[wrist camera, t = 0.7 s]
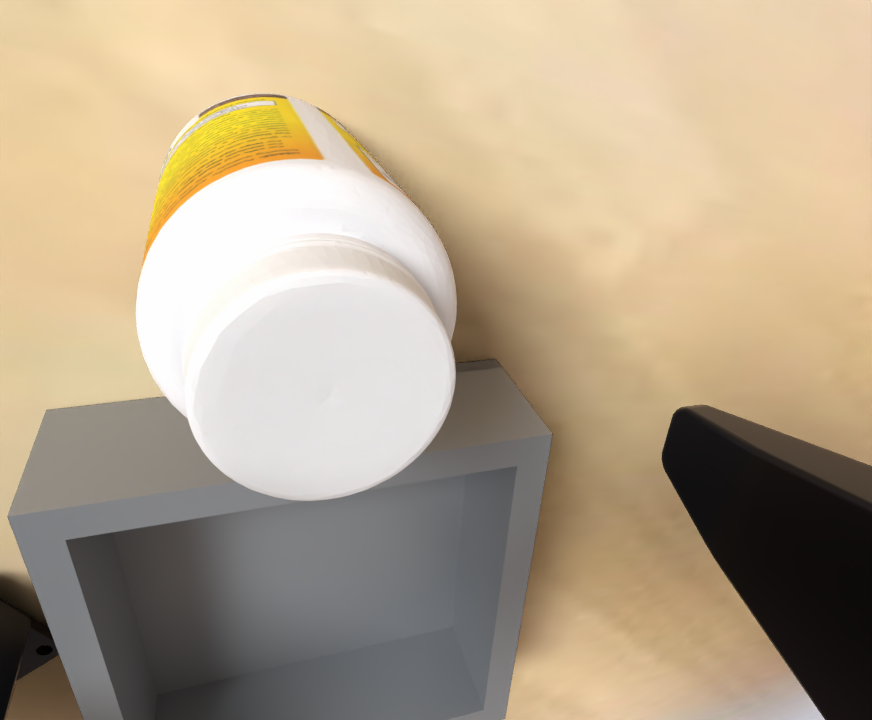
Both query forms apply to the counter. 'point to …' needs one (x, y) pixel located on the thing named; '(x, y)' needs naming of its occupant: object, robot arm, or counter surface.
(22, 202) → the counter surface
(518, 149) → the counter surface
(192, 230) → the supplement bottle
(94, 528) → the box
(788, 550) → the robot arm
